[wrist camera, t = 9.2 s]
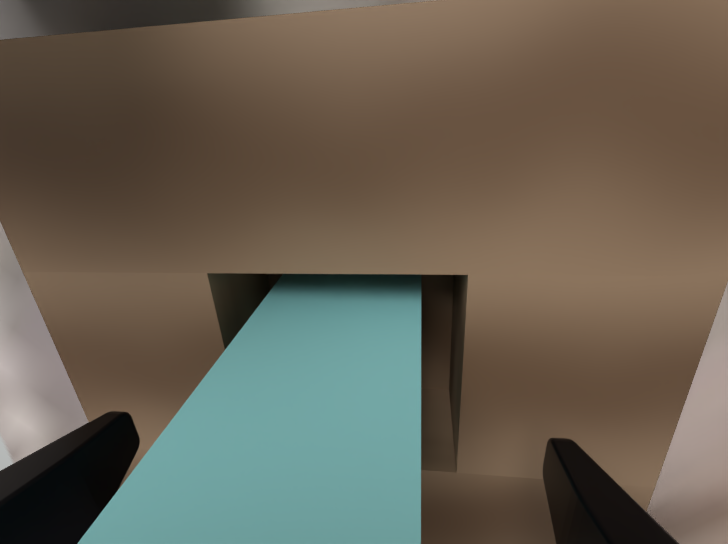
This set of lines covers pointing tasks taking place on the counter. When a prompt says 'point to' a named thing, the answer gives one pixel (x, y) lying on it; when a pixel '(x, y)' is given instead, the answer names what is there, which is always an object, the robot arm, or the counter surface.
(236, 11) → the counter surface
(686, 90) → the walnut socket
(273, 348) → the teal peg
